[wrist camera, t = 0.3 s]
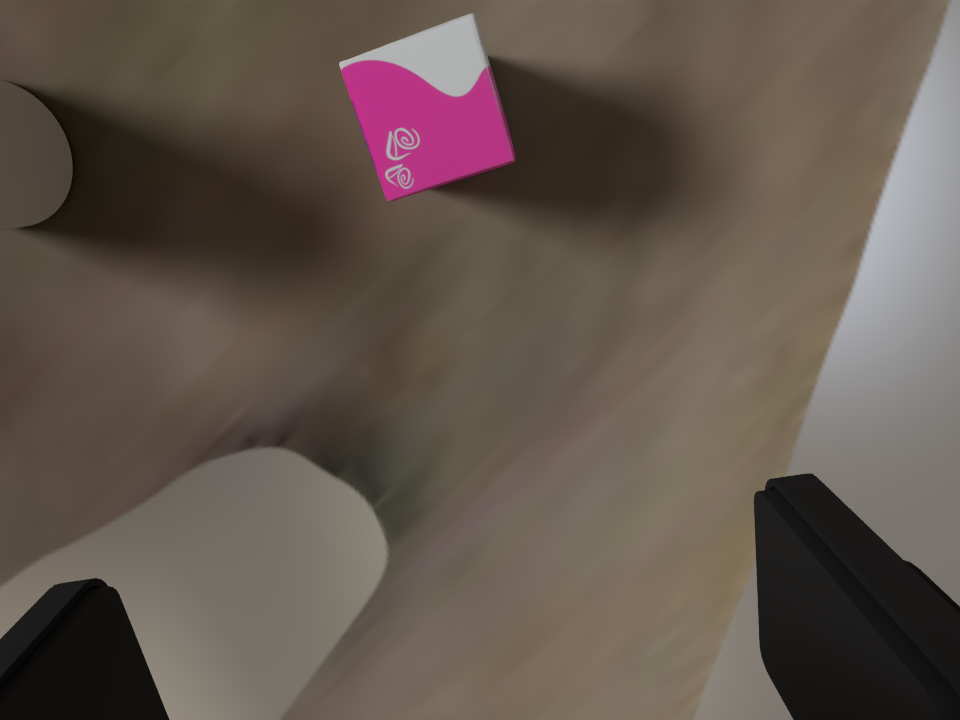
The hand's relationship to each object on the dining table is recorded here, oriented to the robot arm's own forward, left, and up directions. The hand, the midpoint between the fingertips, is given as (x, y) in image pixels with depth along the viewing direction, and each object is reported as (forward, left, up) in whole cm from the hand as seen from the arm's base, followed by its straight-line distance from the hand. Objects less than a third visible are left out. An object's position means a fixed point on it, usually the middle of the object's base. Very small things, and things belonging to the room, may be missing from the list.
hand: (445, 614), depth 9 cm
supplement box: (-8, -1, -31) cm, 32 cm away
